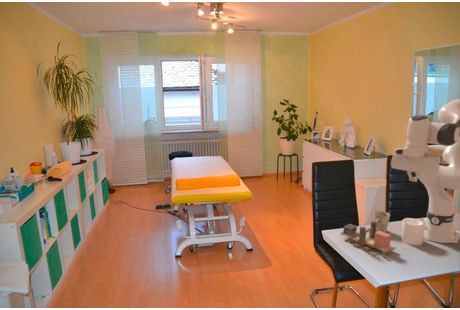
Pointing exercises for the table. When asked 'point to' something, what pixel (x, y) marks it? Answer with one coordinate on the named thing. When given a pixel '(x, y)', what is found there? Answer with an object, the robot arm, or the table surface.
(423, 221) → the robot arm
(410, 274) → the table surface
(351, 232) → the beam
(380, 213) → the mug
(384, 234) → the salmon red rectangular block
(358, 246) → the stand
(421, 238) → the mug
